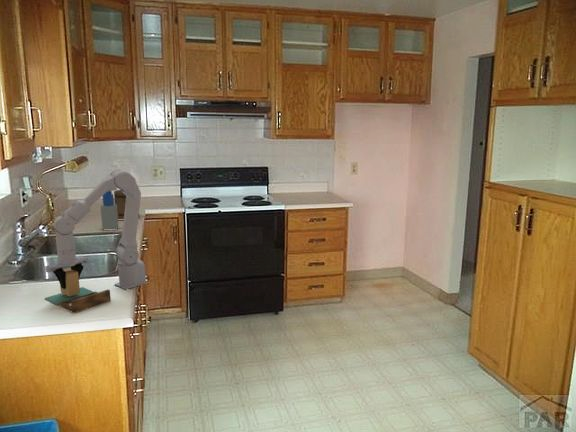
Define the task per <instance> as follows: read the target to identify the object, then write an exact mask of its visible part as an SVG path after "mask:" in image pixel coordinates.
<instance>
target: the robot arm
mask: <svg viewBox="0 0 576 432" xmlns="http://www.w3.org/2000/svg"><path fill="white" fill-rule="evenodd" d="M117 190H121V191H122V192H123V193H124V194H125V195H126V203H125V212H124V220H122V222H123V223H122V231H121V237H120V239H119V241H118V246H117V247H116V249H115V254H116V256H117V258H118V261H117V269H118V271H117V272H118V282H115V283H114V286H116V287H119V288H121V289H123V290H124V289H125V290H129V289H132V288H135V287H139V286H142V285H144V284H147V283H148V281H147V276H146V275H147V273H146V272H147V271H146V265H145V263H144V261H143V260H141V259H139V258H140V252H139V250H138V247H139V246H138V241H137V231H138V222H139V218H138V216H139V217H140V205H141V196H142V192H141V190H140V188H139V186H138V184H137V182H136V178H135V177H134V176H133V175H132V174H131V173H129V172H127V171H123V170H120V169H115V170H113V171H111V172H110V174H108V175H107V176H105V177H104V178H103V179H102V180H101V181H100V182H99V183H98V184H97V185H96V186H95V187H94V188H93V189H92V190H91V191H90V192H89V193H88V194H87V195H86V196H85V197H84V198H83V199H77V200H76V201H72V202H71V203H70V206H69V207H68V208H67V209H66V210H65V211H64V212H63V211H62V212H61V213H60V215H59V216H57V217H56V218H55V219H54V221H53V224H52V227H53V229H54V230H55V245H56V253H57V262H54V263H51V264H49V265H45V266H44V269H45V272H46V273H53V274H54V275H55V277H56V279H57V280H58V282H59V286H60V285H61V288H63V289H66V282H65V275H66V272H65V271H64V270H65V269H68V268H70V269H72V270H75V271H77V272H78V276H79V279H80V277H81V274H82V272H83V270H84V265H83V264H88V263H89V257H88V256H83V257H76V246H75V237H74V230H75V226H76V225H77V224H78V223H80V222H81V221H82V220H83V219H84V218H85V217H86V216H87V215H88V214H90V212H91V207H92V206H93V204H95V203H96V202H97V201H99V200H100V199H101V198H103V197H102V196H103V195H104V194H105V193H106V192H108V191H112V192H114V191H117ZM61 288H60V289H61Z"/></svg>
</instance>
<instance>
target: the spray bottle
mask: <svg viewBox="0 0 576 432" xmlns="http://www.w3.org/2000/svg"><path fill="white" fill-rule="evenodd" d="M101 198H102V204H100V215H101V216H100V218H101V228H103V229H116V228H118V227H119V220H118V212H117V205H116V204H115V200H114V193H113V191H108V192H106V193H105V194H104V195H103V196H102V197H101ZM103 229H102V230H103Z"/></svg>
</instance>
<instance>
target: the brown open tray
mask: <svg viewBox="0 0 576 432" xmlns="http://www.w3.org/2000/svg"><path fill="white" fill-rule="evenodd" d="M108 302H109V303H110V302H111V290H110V289H105V290H101V291H93V292H92V293H89V294H86V295H82V296H79V297H76V298H72V299H69V300H66V301H62V302H59V305H58V306H59V307H62V309H65V310H67V311H69V312H71V313H73V314H76V313H78V312H81V311H85V310H87V309H90V308H93V307H96V306H100V305H103V304H106V303H108Z"/></svg>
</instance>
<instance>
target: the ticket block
mask: <svg viewBox="0 0 576 432" xmlns="http://www.w3.org/2000/svg"><path fill="white" fill-rule="evenodd" d="M63 270H64V271H65V272H66V275H65V282H66V289H63V288H61V285H60V284H59V288H60V293H63V294H65V295H67V296H72V295H76V294H79V293H80V288H81V286H80V278H79V276H78V272H77V271H75V270H72V269H71V268H65V269H63Z"/></svg>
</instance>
